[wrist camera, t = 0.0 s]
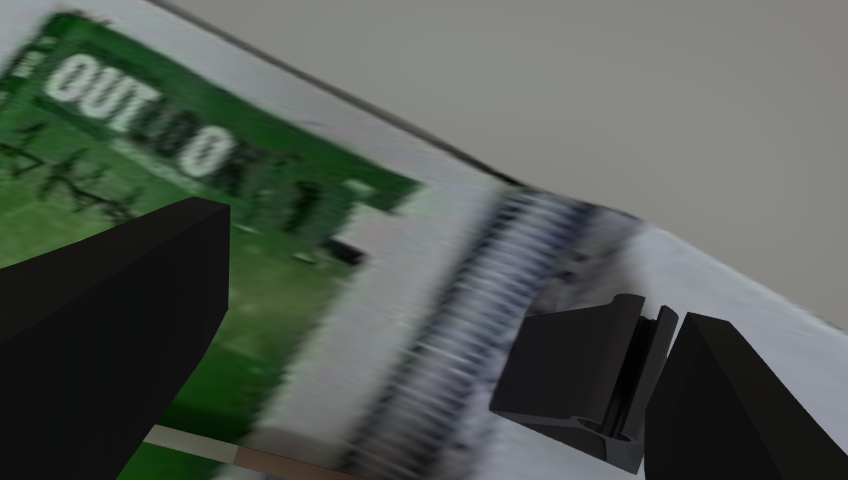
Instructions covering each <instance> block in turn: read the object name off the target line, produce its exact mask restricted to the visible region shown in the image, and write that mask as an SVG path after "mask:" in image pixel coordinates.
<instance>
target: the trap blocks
mask: <svg viewBox="0 0 848 480" xmlns="http://www.w3.org/2000/svg"><path fill="white" fill-rule="evenodd" d="M266 480H290V479H286V478H282V477H278V476H275V475H271V474H267V477H266Z"/></svg>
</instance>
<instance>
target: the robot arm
mask: <svg viewBox="0 0 848 480" xmlns="http://www.w3.org/2000/svg"><path fill="white" fill-rule="evenodd" d="M229 247H230V205H228V204H224V203H220V202H215V201H211V200H207V199H202V198H198V197H191V198H187V199H184V200H181V201H178V202H176V203H173V204H170V205H168V206H165V207H163V208H160V209H158V210H155V211H153V212H150V213H148V214H145V215H143V216H141V217H138V218H136V219H133V220H131V221H128V222H126V223H123V224H121V225H118V226H116V227H114V228H111V229H109V230H106V231H104V232H101V233H99V234H96V235H94V236H91V237H89V238H86V239H84V240H81V241H78V242H76V243H73V244H70V245H67V246H65V247H62V248H59V249H56V250H53V251H51V252H48V253H45V254H42V255H39V256H37V257H34V258H31V259H28V260H26V261H23V262H20V263H17V264H14V265H11V266H8V267H5V268H2V269H0V480H116V478H117V477H118V475H119V474H120V472H121V471H122V469H123V468H124V466H125V465H126V464H127V462H128V461H129V459H130V458H131V457H132V455H133V454H134V453H135V451H136V450H137V448H138V447H139V446H140V444H141V443H142V442H143V440H144V439H145V437H146V436H147V435H148V433H149V432H150V431H151V429H152V428H153V426H154V425H155V424H156V422H157V421H158V420H159V418H160V417H161V415H162V414H163V413H164V411H165V410H166V409H167V407H168V406H169V404H170V403H171V402H172V400H173V399H174V398H175V396H176V395H177V393H178V392H179V391H180V389H181V388H182V386H183V385H184V384H185V382H186V381H187V379H188V378H189V377H190V375H191V374H192V372H193V371H194V370H195V368H196V367H197V365H198V364H199V362H200V361H201V359H202V358H203V356H204V354H205V352H206V350H207V349H208V347H209V345H210V343H211V341H212V339H213V338H214V336H215V334H216V332H217V330H218V328H219V326H220V324H221V322H222V320H223V318H224V316H225V314H226V312H227V310H228V295H229ZM644 471H645V479H646V480H848V456H847V454H846V453H845V452H844V451H843V450H842V449H841V448H840V447H839V446H838V445H837V444H836V443H835V442H834V441H833V440H832V439H831V438H830V437H829V435H828V434H827V433H826V432H825V431H824V430H823V429H822V428H821V427H820V426H819V425H818V423H817V422H816V421H815V420H814V419H813V418H812V417H811V416H810V414H809V413H808V412H807V411H806V410H805V409H804V408H803V406H802V405H801V404H800V403H799V402H798V401H797V400H796V398H795V397H794V396H793V395H792V394H791V393H790V391H789V390H788V389H787V388H786V387H785V386H784V384H783V383H782V382H781V381H780V380H779V378H778V377H777V376H776V375H775V374H774V372H773V371H772V370H771V369H770V368H769V367H768V365H767V364H766V363H765V362H764V361H763V359H762V358H761V357H760V356H759V355H758V353H757V352H756V351H755V350H754V349H753V348H752V346H751V345H750V344H749V343H748V342H747V341H746V339H745V338H744V337H743V336H742V335H741V334H740V333H739V332H738V330H737V329H736V328H735V327H734V326H733V325H732V324H731V323H730V322H729V321H726V320H721V319H717V318H713V317H708V316H704V315H700V314H696V313H691V312H687V314H686V317H685V319H684V321H683V324H682V326H681V328H680V330H679V333H678V335H677V337H676V340H675V342H674V344H673V347H672V349H671V351H670V353H669V356H668V358H667V360H666V363H665V365H664V367H663V370H662V372H661V374H660V377H659V379H658V381H657V383H656V386H655V388H654V390H653V393H652V395H651V397H650V400H649V402H648V404H647V406H646V409H645V423H644Z"/></svg>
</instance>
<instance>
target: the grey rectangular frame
mask: <svg viewBox="0 0 848 480" xmlns="http://www.w3.org/2000/svg"><path fill="white" fill-rule="evenodd" d="M143 441H144V442H148V443H152V444H156V445H160V446H163V447H167V448H171V449H175V450H179V451H183V452H186V453H190V454H194V455H198V456H202V457H206V458H209V459H213V460H217V461H221V462H225V463H229V464H232V465H236V466H240V467H244V468H248V469H252V470H255V471H259V472H263V473H267V474H271V475H275V476H278V477H282V478H286V479H290V480H370V479H366V478H362V477H358V476H354V475H350V474H346V473H343V472H339V471H335V470H331V469H327V468H323V467H319V466H316V465H312V464H308V463H304V462H300V461H296V460H292V459H288V458H285V457H281V456H277V455H273V454H269V453H265V452H261V451H257V450H254V449H250V448H246V447H242V446H238V445H234V444H230V443H227V442H223V441H219V440H215V439H211V438H207V437H203V436H199V435H196V434H192V433H188V432H184V431H180V430H176V429H172V428H169V427H165V426H161V425H157V424H155V425H154V426H153V428H152V429H151V431H150V432H149V433H148V435H147V436H146V437H145V439H144V440H143Z"/></svg>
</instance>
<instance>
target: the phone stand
mask: <svg viewBox="0 0 848 480" xmlns="http://www.w3.org/2000/svg"><path fill="white" fill-rule="evenodd" d="M644 302H645V297H643V296H639V295H633V294H618V295H616V296H615V297H614V299H613V301H612V302H611V303H609V304H607V305H602V306H596V307H589V308H583V309H576V310H570V311H563V312H557V313H550V314H544V315H537V316H531V317H526V318H525V320H524V323H523V325H522V328H521V330H520V333H519V336H518V338H517V341H516V343H515V346H514V348H513V351H512V353H511V356H510V358H509V361H508V363H507V366H506V368H505V371H504V373H503V376H502V378H501V381H500V383H499V386H498V388H497V391H496V393H495V396H494V398H493V401H492V403H491V406H490V409H489V411H491V412H493V413H495V414H497V415H500V416H502V417H504V418H506V419H509V420H511V421H513V422H516V423H518V424H520V425H522V426H525V427H527V428H529V429H531V430H534V431H536V432H538V433H541V434H543V435H545V436H547V437H550V438H552V439H554V440H557V441H560V442H562V443H564V444H566V445H568V446H570V447H572V448H575V449H577V450H579V451H582V452H584V453H586V454H588V455H591V456H593V457H595V458H598V459H600V460H602V461H604V462H607V463H609V464H611V465H613V466H616V467H618V468H620V469H623V470H625V471H627V472H629V473H632V474H635V475H637V473H638V470H639V467H640V463H641V460H642V457H643V454H644V423H645V409H646V406H647V404H648V402H649V400H650V397H651V395H652V393H653V390H654V388H655V386H656V383H657V381H658V379H659V377H660V374H661V372H662V370H663V367H664V365H665V363H666V360H667V353H668V350H669V346H670V343H671V340H672V337H673V334H674V331H675V328H676V325H677V322H678V319H679V317H678V315H677V314H676V313H675V312H674V311H673V310H672V309H670V308H669V307H667V306H666V305H664V306H661V308H660V311H659V314H658V317H657V320H654V319H651V320H648V319H647V318H645V317H644V316H640V313H641V311H642V308H643V305H644Z"/></svg>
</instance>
